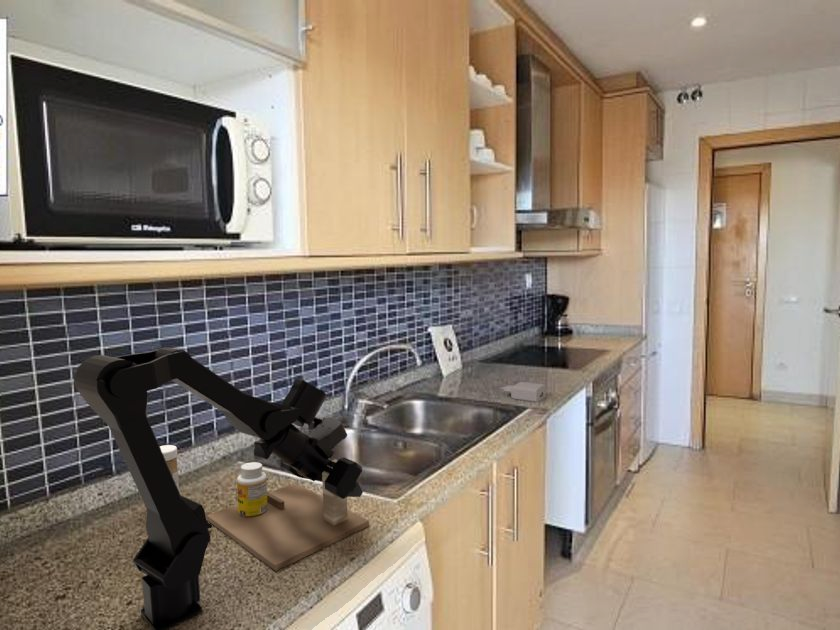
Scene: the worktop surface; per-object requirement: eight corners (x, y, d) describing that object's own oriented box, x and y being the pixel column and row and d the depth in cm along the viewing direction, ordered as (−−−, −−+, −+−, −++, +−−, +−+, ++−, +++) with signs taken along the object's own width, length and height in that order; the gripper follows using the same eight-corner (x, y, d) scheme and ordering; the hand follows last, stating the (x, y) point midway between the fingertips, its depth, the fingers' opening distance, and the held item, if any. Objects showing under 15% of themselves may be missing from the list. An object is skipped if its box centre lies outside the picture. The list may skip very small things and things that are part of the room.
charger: (506, 391, 199) (546, 397, 191) (496, 397, 192) (536, 403, 184) (506, 378, 199) (546, 383, 191) (496, 384, 191) (536, 389, 183)
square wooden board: (275, 571, 88) (272, 500, 87) (207, 520, 106) (203, 460, 104) (369, 525, 103) (367, 464, 101) (295, 487, 120) (293, 434, 118)
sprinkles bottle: (152, 518, 107) (147, 452, 105) (163, 507, 111) (158, 444, 110) (175, 517, 107) (170, 452, 105) (185, 507, 111) (180, 443, 110)
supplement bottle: (237, 512, 109) (235, 462, 108) (265, 507, 111) (264, 459, 110) (239, 524, 103) (237, 472, 103) (269, 519, 106) (267, 468, 105)
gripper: (352, 419, 92) (400, 462, 101) (291, 399, 105) (338, 439, 114) (315, 477, 87) (369, 518, 97) (256, 449, 100) (308, 487, 109)
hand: (345, 487), depth 104 cm, fingers open, 9 cm apart
